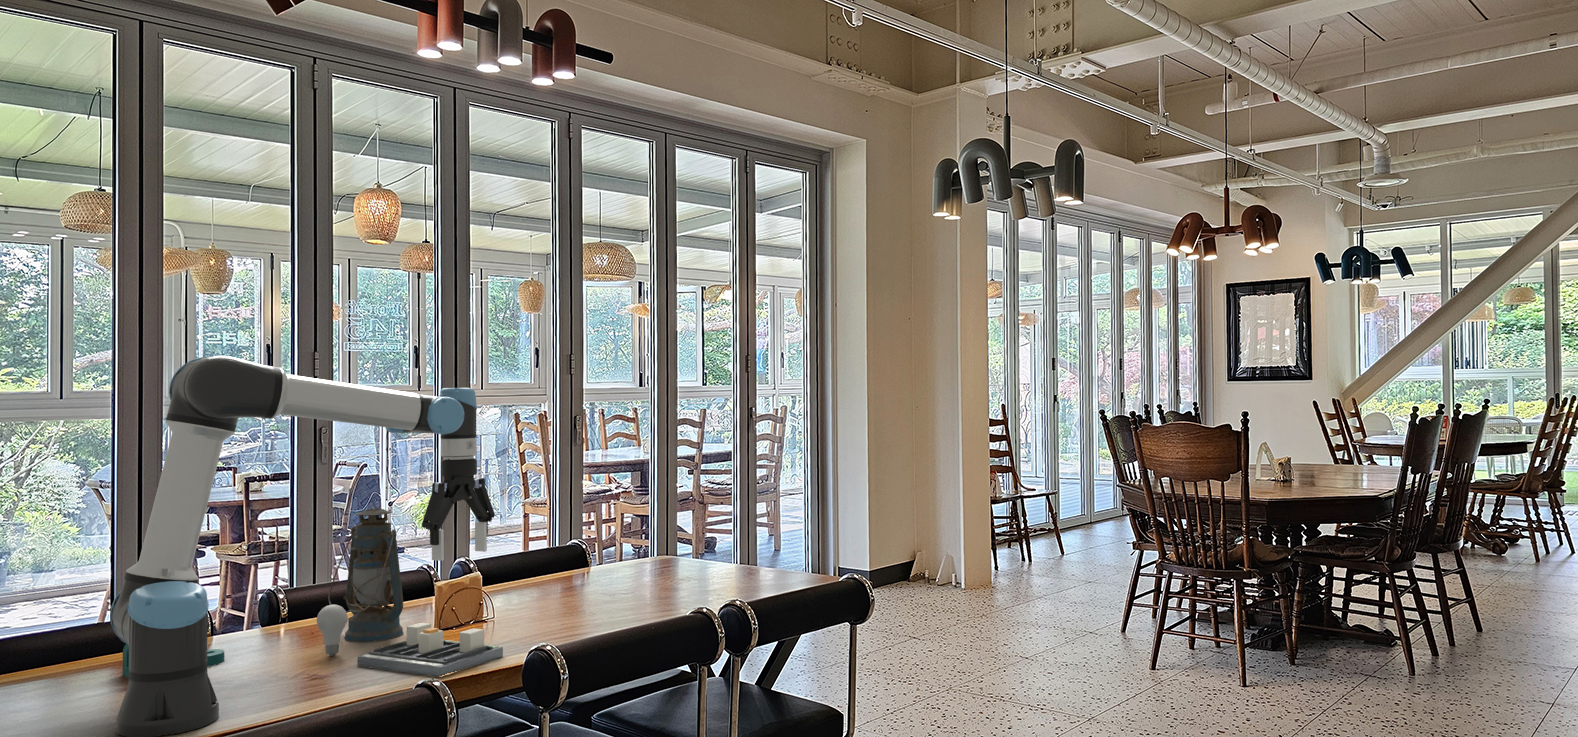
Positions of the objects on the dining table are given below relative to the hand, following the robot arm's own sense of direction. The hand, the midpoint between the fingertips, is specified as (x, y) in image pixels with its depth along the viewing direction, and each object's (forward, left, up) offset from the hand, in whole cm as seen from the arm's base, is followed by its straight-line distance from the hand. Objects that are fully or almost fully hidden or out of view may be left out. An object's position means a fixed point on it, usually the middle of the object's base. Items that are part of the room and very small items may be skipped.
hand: (459, 555), depth 228 cm
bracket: (-34, +45, -21) cm, 60 cm away
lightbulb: (-14, +23, -21) cm, 34 cm away
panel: (-9, 0, -21) cm, 23 cm away
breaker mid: (-9, 0, -19) cm, 21 cm away
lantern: (+3, +30, -21) cm, 37 cm away
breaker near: (-5, -8, -19) cm, 21 cm away
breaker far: (-5, +7, -19) cm, 21 cm away
